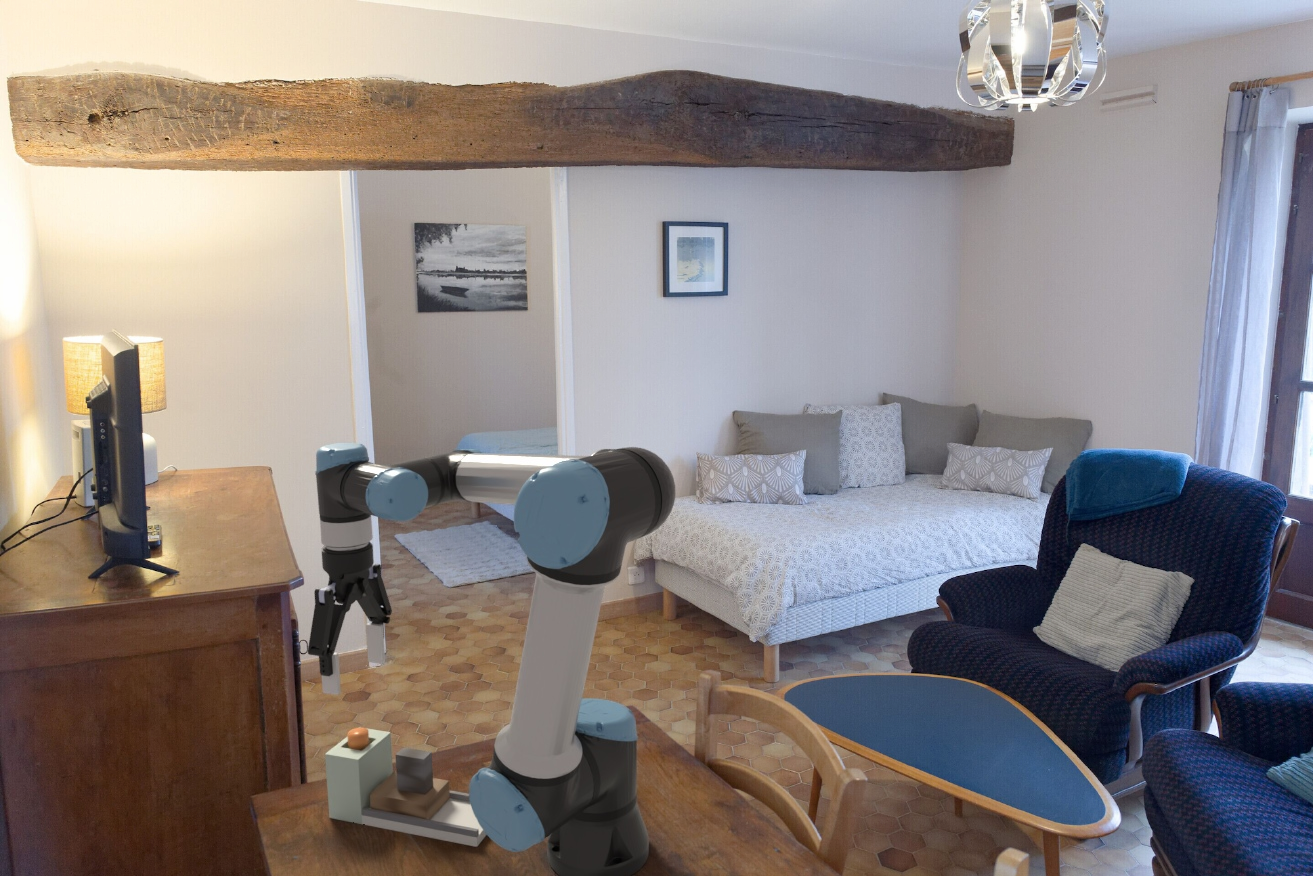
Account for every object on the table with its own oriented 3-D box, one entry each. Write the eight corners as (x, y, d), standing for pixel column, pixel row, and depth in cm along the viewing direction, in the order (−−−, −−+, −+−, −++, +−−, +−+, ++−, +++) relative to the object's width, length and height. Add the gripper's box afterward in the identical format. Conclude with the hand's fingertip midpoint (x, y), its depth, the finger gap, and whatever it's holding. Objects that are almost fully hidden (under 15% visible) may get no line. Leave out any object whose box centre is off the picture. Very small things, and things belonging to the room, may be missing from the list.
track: (503, 813, 147) (503, 799, 147) (476, 846, 139) (476, 831, 138) (394, 793, 153) (393, 779, 153) (362, 824, 145) (361, 809, 144)
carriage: (449, 797, 149) (447, 746, 147) (427, 822, 142) (424, 768, 141) (395, 787, 152) (392, 737, 150) (370, 811, 145) (367, 758, 143)
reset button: (373, 743, 149) (372, 729, 149) (361, 752, 146) (360, 738, 146) (356, 740, 150) (355, 726, 149) (344, 749, 147) (343, 735, 146)
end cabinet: (394, 793, 153) (390, 732, 151) (362, 824, 145) (358, 759, 143) (362, 788, 155) (359, 727, 153) (329, 817, 146) (324, 753, 144)
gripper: (370, 522, 154) (377, 645, 158) (274, 564, 132) (285, 706, 136) (410, 525, 152) (415, 651, 156) (319, 569, 130) (328, 713, 134)
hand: (355, 677), depth 146 cm, fingers open, 11 cm apart
